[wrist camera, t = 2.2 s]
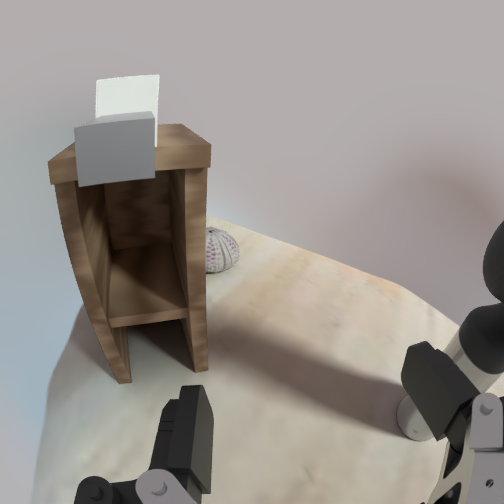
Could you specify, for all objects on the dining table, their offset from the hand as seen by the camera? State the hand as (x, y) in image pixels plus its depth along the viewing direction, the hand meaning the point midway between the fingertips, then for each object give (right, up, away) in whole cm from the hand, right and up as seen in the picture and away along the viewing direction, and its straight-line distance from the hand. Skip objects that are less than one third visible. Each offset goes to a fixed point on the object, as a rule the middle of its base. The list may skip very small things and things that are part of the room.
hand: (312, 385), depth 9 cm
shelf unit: (-19, -9, +34) cm, 40 cm away
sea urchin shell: (-12, +3, +55) cm, 57 cm away
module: (-13, +14, +11) cm, 22 cm away
